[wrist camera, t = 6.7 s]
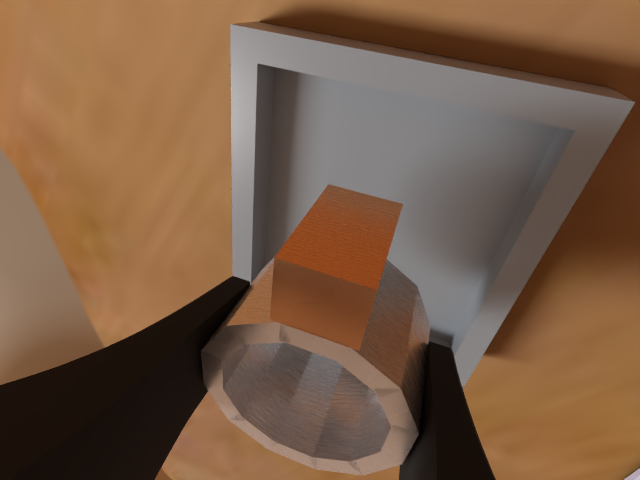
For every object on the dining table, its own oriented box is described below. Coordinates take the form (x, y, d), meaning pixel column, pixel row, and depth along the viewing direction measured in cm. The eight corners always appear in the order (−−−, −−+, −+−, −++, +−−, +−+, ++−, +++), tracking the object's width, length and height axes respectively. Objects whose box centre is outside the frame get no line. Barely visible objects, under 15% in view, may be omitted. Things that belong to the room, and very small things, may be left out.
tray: (611, 88, 11) (635, 102, 10) (463, 354, 19) (463, 387, 17) (257, 21, 14) (230, 24, 12) (250, 283, 21) (232, 306, 20)
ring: (475, 223, 9) (480, 322, 6) (400, 392, 13) (383, 497, 10) (266, 167, 10) (190, 231, 7) (257, 340, 14) (207, 424, 11)
